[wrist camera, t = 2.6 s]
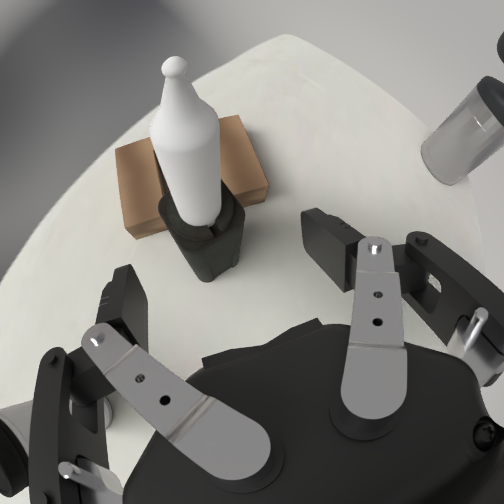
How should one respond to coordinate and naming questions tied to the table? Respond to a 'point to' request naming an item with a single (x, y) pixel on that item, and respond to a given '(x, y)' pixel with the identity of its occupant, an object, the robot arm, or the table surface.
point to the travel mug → (21, 445)
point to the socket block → (151, 185)
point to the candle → (194, 177)
